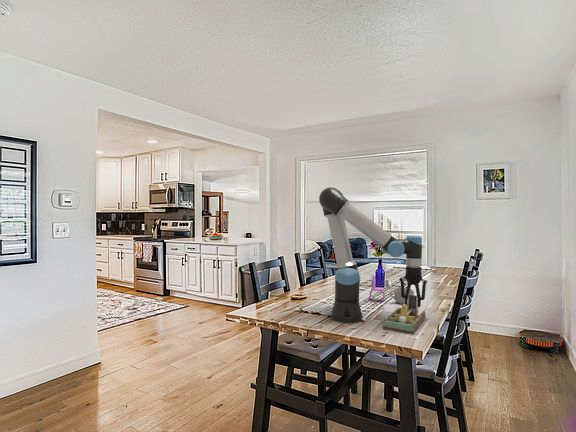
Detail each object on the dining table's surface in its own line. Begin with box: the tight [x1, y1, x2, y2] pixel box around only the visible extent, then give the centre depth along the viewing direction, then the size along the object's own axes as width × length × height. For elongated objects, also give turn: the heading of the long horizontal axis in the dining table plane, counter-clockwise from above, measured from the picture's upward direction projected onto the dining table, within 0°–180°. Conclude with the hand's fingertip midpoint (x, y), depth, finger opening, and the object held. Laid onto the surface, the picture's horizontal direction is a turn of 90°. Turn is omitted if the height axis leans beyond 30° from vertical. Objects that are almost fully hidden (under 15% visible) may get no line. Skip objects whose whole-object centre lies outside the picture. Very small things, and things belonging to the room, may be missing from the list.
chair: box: [367, 274, 386, 303], centre depth 216 cm, size 8×9×15 cm
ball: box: [399, 316, 407, 324], centre depth 168 cm, size 4×4×4 cm
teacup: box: [388, 287, 415, 305], centre depth 212 cm, size 14×11×8 cm
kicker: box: [394, 294, 418, 323], centre depth 178 cm, size 21×9×9 cm, turn 150°
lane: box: [382, 307, 427, 335], centre depth 172 cm, size 28×13×4 cm, turn 150°
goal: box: [382, 317, 414, 331], centre depth 163 cm, size 8×13×2 cm, turn 60°
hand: (412, 312), depth 186 cm, fingers closed on kicker, 4 cm apart
